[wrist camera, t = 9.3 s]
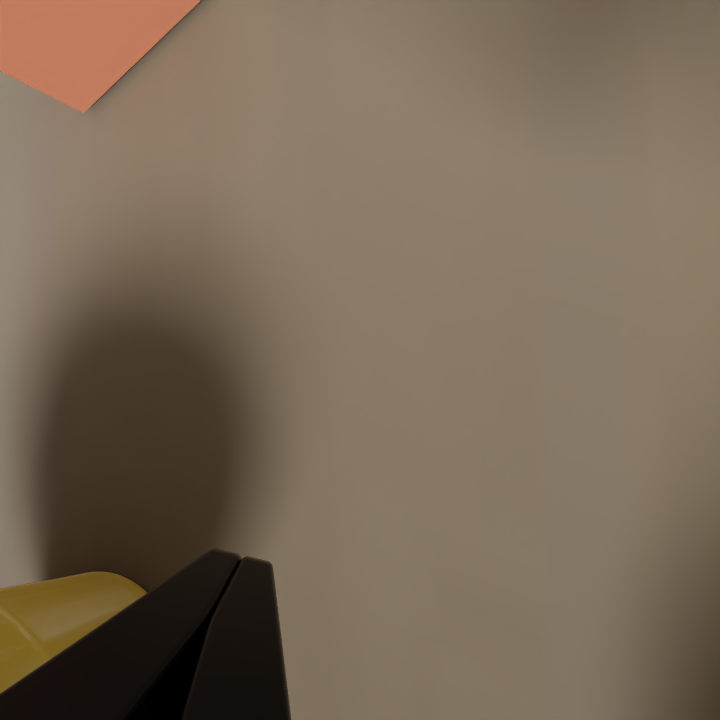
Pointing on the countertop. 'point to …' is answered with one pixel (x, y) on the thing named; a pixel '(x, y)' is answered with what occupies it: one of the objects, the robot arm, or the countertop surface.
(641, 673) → the countertop surface
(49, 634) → the plant pot
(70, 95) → the pink block
